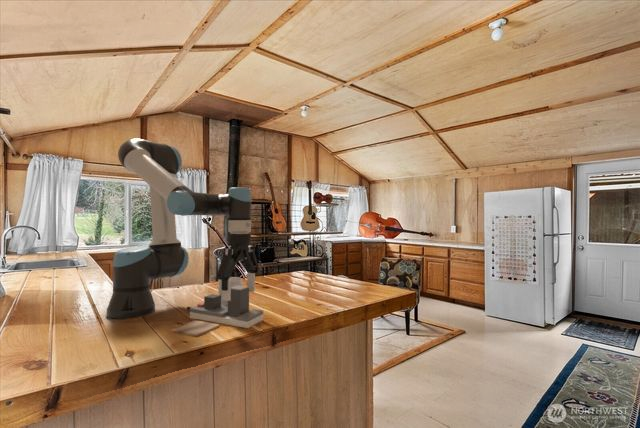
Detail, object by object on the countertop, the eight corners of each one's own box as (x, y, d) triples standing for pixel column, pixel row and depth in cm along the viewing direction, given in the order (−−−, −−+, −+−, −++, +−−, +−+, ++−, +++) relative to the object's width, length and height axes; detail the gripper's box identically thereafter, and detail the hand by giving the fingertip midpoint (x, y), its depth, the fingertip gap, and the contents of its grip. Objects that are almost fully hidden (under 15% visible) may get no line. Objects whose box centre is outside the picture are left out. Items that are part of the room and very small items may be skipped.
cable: (202, 313, 118) (202, 310, 118) (200, 313, 117) (200, 311, 117) (188, 308, 124) (188, 306, 124) (186, 308, 123) (186, 306, 123)
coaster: (171, 331, 99) (171, 329, 99) (195, 321, 109) (195, 320, 109) (196, 336, 96) (196, 334, 96) (219, 326, 105) (219, 324, 105)
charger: (227, 316, 109) (228, 288, 109) (236, 312, 114) (237, 285, 114) (239, 318, 107) (240, 289, 107) (248, 313, 112) (249, 286, 112)
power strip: (189, 317, 113) (190, 297, 113) (207, 310, 121) (208, 291, 121) (247, 328, 104) (248, 305, 104) (263, 319, 112) (263, 298, 112)
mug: (243, 310, 123) (244, 280, 123) (219, 312, 119) (219, 282, 119) (239, 302, 134) (239, 275, 134) (216, 304, 130) (217, 276, 130)
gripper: (224, 235, 98) (224, 305, 97) (268, 231, 121) (268, 289, 120) (205, 234, 100) (204, 303, 100) (251, 231, 123) (251, 287, 123)
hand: (239, 295), depth 110 cm, fingers open, 13 cm apart
